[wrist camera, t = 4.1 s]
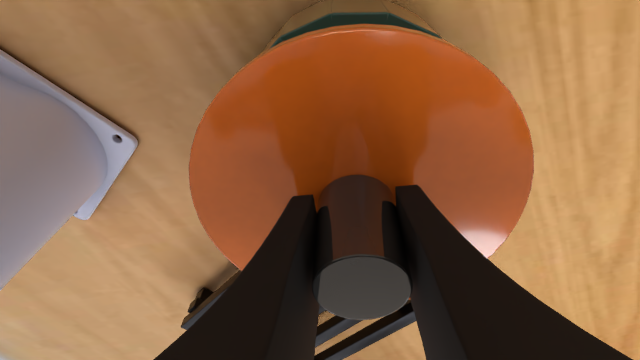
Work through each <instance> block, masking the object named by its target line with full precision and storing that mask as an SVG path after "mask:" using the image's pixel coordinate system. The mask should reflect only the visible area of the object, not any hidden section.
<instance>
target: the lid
mask: <svg viewBox="0 0 640 360" xmlns="http://www.w3.org/2000/svg"><path fill="white" fill-rule="evenodd" d="M533 172H534V156H533V146H532V141H531V135H530V130H529V128H528V125H527V123H526V120H525V118H524V115H523V112H522V110H521V108H520V107H519V105H518V104H517V102H516V100H515V99H514V97H513V96H512V94H511V92H510V91H509V90H508V89H507V88H506V86H505V85H504V84H503V83H502V82H501V81H500V80H499V79H498V78H497V76H496V75H495V74H494V73H493V72H492V71H490V70H489V69H488V68H487V67H485V66H484V65H483V64H482V63H480V62H479V61H478V60H477V59H475V58H474V57H473V56H472V55H470V54H469V53H467V52H466V51H464V50H462V49H460V48H458V47H457V46H455V45H453V44H451V43H449V42H448V41H446V40H443V39H440V38H437V37H435V36H432V35H429V34H427V33H424V32H421V31H417V30H412V29H407V28H402V27H398V26H393V25H376V24H355V25H343V26H334V27H329V28H325V29H320V30H316V31H311V32H307V33H305V34H302V35H299V36H297V37H294V38H291V39H289V40H286V41H283V42H281V43H279V44H278V45H276V46H274V47H272V48H270V49H268V50H267V51H265V52H263V53H261V54H259V55H258V56H257V57H255V58H254V59H253V60H251V61H250V62H249V63H248V64H246V65H245V66H244V67H242V68H241V69H240V70H239V71H238V72H237V73H236V74H235V75H234V76H233V77H232V78H231V79H230V80H229V81H228V82H227V83H226V84H225V85H224V86H223V87H222V89H221V90H220V91H219V92H218V94H217V95H216V97H215V98H214V100H213V101H212V102H211V104H210V105H209V107H208V108H207V109H206V111H205V113H204V115H203V117H202V119H201V122H200V124H199V126H198V128H197V130H196V134H195V137H194V140H193V144H192V147H191V154H190V162H189V181H190V190H191V194H192V199H193V204H194V207H195V209H196V212H197V215H198V217H199V220H200V222H201V224H202V225H203V227H204V229H205V231H206V233H207V234H208V236H209V237H210V239H211V240H212V241H213V243H214V244H215V245H216V247H217V248H218V249H219V250H220V251H221V252H222V253H223V254H224V256H225V257H226V258H227V259H228V260H229V261H231V262H232V263H233V264H234V265H235V266H236V267H238V268H239V269H240V270H241V271H242V270H243V269H244V268H245V266H246V265H247V264H248V262H249V261H250V260H251V258H252V257H253V256H254V254H255V253H256V252H257V250H258V249H259V248H260V246H261V245H262V243H263V242H264V240H265V239H266V237H267V236H268V234H269V233H270V231H271V230H272V228H273V227H274V225H275V224H276V222H277V221H278V219H279V217H280V216H281V214H282V212H283V211H284V209H285V207H286V206H287V204H288V202H289V200H290V199H291V198H292V197H293V196H300V195H311V194H313V197H314V202H315V207H316V212H317V219H316V232H315V246H314V260H313V273H312V293H313V296H314V298H315V300H316V301H317V303H318V304H319V305H320V306H321V307H322V308H324V309H325V310H326V311H328V312H330V313H332V314H334V315H337V316H340V317H343V318H348V319H356V320H367V319H375V318H380V317H384V316H386V315H389V314H391V313H393V312H395V311H397V310H399V309H400V308H401V307H403V306H404V305H405V304H406V302H407V301H408V300H410V296H411V294H412V290H413V281H412V276H411V272H410V267H409V263H408V258H407V254H406V249H405V245H404V240H403V236H402V232H401V228H400V223H399V219H398V214H397V210H396V193H395V187H396V186H406V185H418V186H419V187H421V189H422V190H423V191H424V193H425V194H426V195H427V196H428V198H429V199H430V200H431V201H432V203H433V204H434V205H435V206H436V207H437V208H438V210H439V211H440V212H441V213H442V214H443V215H444V216H445V217H446V219H447V220H448V221H449V222H450V223H451V224H452V225H453V226H454V227H455V228H456V229H457V230H458V231H459V232H460V233H461V234H462V235H463V236H464V237H465V238H466V239H467V240H468V241H469V242H470V243H471V244H472V245H473V246H474V247H475V248H476V249H477V250H478V251H479V252H481V253H482V254H483V255H484V256H485V257H486V258H487V259H488V258H489V257H490V256H491V255H492V254H493V253H494V252H495V251H496V250H497V249H498V248H499V247H500V246H501V244H502V243H503V242H504V241H505V240H506V239H507V237H508V236H509V234H510V233H511V232H512V230H513V229H514V227H515V226H516V224H517V222H518V220H519V218H520V216H521V214H522V212H523V210H524V208H525V206H526V203H527V200H528V197H529V194H530V190H531V185H532V179H533Z"/></svg>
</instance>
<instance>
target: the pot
mask: <svg viewBox="0 0 640 360" xmlns="http://www.w3.org/2000/svg"><path fill="white" fill-rule="evenodd" d="M355 24H376V25H393V26H398V27H402V28H407V29H412V30H417V31H421V32H424V33H427V34H429V35H432V36H435V37H437V38H440V39H442V37H441V36H440V35H439V34H438V33H436V32H435V31H434V30H433V29H432V28H431V27H430V26H429V25H428V24H427V23H426V22H425V21H424V20H423V19H422V18H421V17H420V16H418V15H417V14H415V13H413V12H411V11H409V10H407V9H405V8H403V7H401V6H400V5H398V4H396V3H393V2H390V1H388V0H324V1H321V2H319V3H316V4H313V5H311V6H310V7H308V8H306V9H304V10H303V11H301V12H299V13H297V14H295V15H293V16H292V17H291V18H290V19H289V20H288V21H287V22H286V23H285V25H284V26H283V27H282V28H281V29H280V30H279V31H278V33H277V34H276V35H275V36H274V38H273V39H272V40H271V41H270V42H269V44H268V45H267V46H266V47H265V49H264V50H263V51H262V53H263V52H265V51H267V50H268V49H270V48H272V47H274V46H276V45H278V44H279V43H281V42H283V41H286V40H289V39H291V38H294V37H297V36H299V35H302V34H305V33H307V32H311V31H316V30H320V29H325V28H329V27H334V26H343V25H355Z"/></svg>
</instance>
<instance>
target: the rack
mask: <svg viewBox="0 0 640 360" xmlns="http://www.w3.org/2000/svg"><path fill="white" fill-rule="evenodd" d="M241 272H242V271H241V270H240V271H238V272H237V273H236V274H235V275H234V276H233V277H231V278H230V279H229V280H228V281H227V282H226V283H224V284H223V285H222V286H221V287H220V288H219V289H217V290H216V291H215V292H212V291H210V290H208V289H206V288H203V289H202V290H201V291H200V292H198V294H197V296H196V299H195V300H194V301H193V302H192V303H191V304H190V307H189V309H188V312H189V314H188V315H187V316H186V317H185V318H184V320H183V322H182V325H181V328H184V329H186V330H188V329H189V328H190V327H191V326H192V325H193V324H194V323H195V322H196V321H197V320H198V319H199V318H200V317H201V316H202V315H203V314H204V313H205V312H206V311H207V310H208V309H209V308H210V307H211V306H212V305H213V304H214V303H215V302H216V301H217V299H218V298H219V297H220V296H221V295H222V294H223V293H224V292H225V291H226V289H227V288H228V287H229V286H230V285H231V284H232V283H233V281H234V280H235V279H236V278H237V277H238V275H239V274H240V273H241ZM324 311H325V309H324V308H322V307H321V306H320V307H319V314H321V313H322V312H324ZM360 321H362V320H356V319H348V318H343V317H340V316H337V315H336V316H334V317H332V318H331V319H329V320H327V321H326V322H324V323H323V324H321V325H319V326H318V327H317V333H316V342H315V347H317V346H319V345H321V344H322V343H324V342H326V341H327V340H329V339H331V338H333V337H334V336H336V335H338V334H340V333H341V332H343V331H345V330H347V329H348V328H350V327H352V326H353V325H355V324H357V323H359V322H360ZM415 321H416V317H415V314H414V310H413V307H412V303H411V300H408V301H407V302H406V304H405V305H404V306H403V307H401V308H400V309H399V310H397V311H395V312H393V313H391V314H389V315H387V316H385V317H383V318H381V319H380V320H378V321H376V322H374V323H372V324H371V325H369V326H367V327H365V328H363V329H362V330H360V331H358V332H356V333H355V334H353V335H351V336H349V337H347V338H346V339H344V340H342V341H340V342H339V343H337V344H335V345H333V346H331V347H330V348H328V349H326V350H324V351H323V352H321V353H319V354H317V355H315V356H314V360H342V359H344V358H346V357H348V356H350V355H352V354H354V353H356V352H358V351H360V350H361V349H363V348H365V347H367V346H369V345H371V344H373V343H375V342H377V341H379V340H380V339H382V338H384V337H386V336H388V335H390V334H392V333H394V332H396V331H398V330H400V329H401V328H403V327H405V326H407V325H409V324H411V323H413V322H415Z"/></svg>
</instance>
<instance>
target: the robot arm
mask: <svg viewBox="0 0 640 360" xmlns="http://www.w3.org/2000/svg"><path fill="white" fill-rule="evenodd" d="M116 135H119V136H120V137H121V138H122V140H121V139H119V138H118V137H117V136H116ZM137 146H138V141H137V139H136V138H135V137H134V136H133V135H131V134H130V133H128V132H127V131H125V130H124V129H122V128H121V127H119V126H117V125H116V124H114V123H113V122H111V121H110V120H108V119H107V118H105V117H104V116H102V115H101V114H99V113H97V112H96V111H94V110H93V109H91V108H90V107H88V106H87V105H85V104H84V103H82V102H81V101H79V100H77V99H76V98H74V97H73V96H71V95H70V94H68V93H67V92H65V91H64V90H62V89H61V88H59V87H57V86H56V85H54V84H53V83H51V82H50V81H48V80H47V79H45V78H44V77H42V76H41V75H39V74H37V73H36V72H34V71H33V70H31V69H30V68H28V67H27V66H25V65H24V64H22V63H20V62H19V61H17V60H16V59H14V58H13V57H11V56H10V55H8V54H7V53H5V52H4V51H2V50H0V290H1V289H2V288H3V287H4V286H5V285H6V284H7V283H8V282H9V281H10V280H11V279H12V278H13V277H14V276H15V275H16V274H17V273H18V272H19V271H20V270H21V268H22V267H23V266H24V265H25V264H26V263H27V262H28V261H29V260H30V259H31V258H32V257H33V256H34V255H35V254H36V253H37V252H38V251H39V250H40V249H41V248H42V247H43V246H44V245H45V244H46V243H47V241H48V240H49V239H50V238H51V237H52V236H53V235H54V234H55V233H56V232H57V231H58V230H59V229H60V228H61V227H62V226H63V225H64V224H65V223H66V222H67V221H68V220H69V219H70V218H71V217H72V216H75V217H77V218H79V219H81V220H87V219H89V218H90V217H91V215H92V214H93V213H94V211H95V210H96V208H97V206H98V205H99V203H100V202H101V200H102V199H103V197H104V196H105V194H106V193H107V191H108V190H109V188H110V187H111V185H112V184H113V182H114V181H115V179H116V178H117V176H118V175H119V173H120V172H121V170H122V169H123V167H124V166H125V164H126V163H127V161H128V160H129V158H130V157H131V155H132V154H133V152H134V151H135V149H136V148H137ZM395 193H396V210H397V214H398V219H399V223H400V228H401V232H402V236H403V240H404V245H405V249H406V254H407V258H408V263H409V267H410V272H411V276H412V281H413V290H412V294H411V296H410V300H411V303H412V307H413V310H414V314H415V317H416V321H417V324H418V328H419V331H420V335H421V339H422V342H423V347H424V351H425V355H426V360H633V359H631V358H629V357H627V356H626V355H624V354H622V353H621V352H619V351H617V350H616V349H614V348H612V347H611V346H609V345H607V344H606V343H604V342H602V341H601V340H599V339H598V338H596V337H594V336H593V335H591V334H589V333H588V332H586V331H585V330H583V329H581V328H580V327H578V326H577V325H575V324H574V323H572V322H571V321H569V320H568V319H567V318H565V317H564V316H562V315H561V314H559V313H558V312H556V311H555V310H553V309H552V308H550V307H549V306H547V305H546V304H544V303H543V302H541V301H540V300H538V299H537V298H536V297H534V296H533V295H532V294H530V293H529V292H528V291H526V290H525V289H524V288H522V287H521V286H520V285H518V284H517V283H516V282H515V281H513V280H512V279H511V278H510V277H508V276H507V275H506V274H505V273H503V272H502V271H501V270H500V269H499V268H497V267H496V266H495V265H494V264H493V263H492V262H491V261H489V260H488V259H487V258H486V257H485V256H484V255H483V254H482V253H481V252H479V251H478V250H477V249H476V248H475V247H474V246H473V245H472V244H471V243H470V242H469V241H468V240H467V239H466V238H465V237H464V236H463V235H462V234H461V233H460V232H459V231H458V230H457V229H456V228H455V227H454V226H453V225H452V224H451V223H450V222H449V221H448V220H447V219H446V217H445V216H444V215H443V214H442V213H441V212H440V211H439V210H438V208H437V207H436V206H435V205H434V204H433V203H432V201H431V200H430V199H429V198H428V196H427V195H426V194H425V193H424V191H423V190H422V189H421V187H419V186H418V185H406V186H396V187H395ZM316 219H317V212H316V207H315V202H314V197H313V194H311V195H300V196H293V197H292V198H291V199H290V200H289V202H288V204H287V206H286V207H285V209H284V211H283V212H282V214H281V216H280V217H279V219H278V221H277V222H276V224H275V225H274V227H273V228H272V230H271V231H270V233H269V234H268V236H267V237H266V239H265V240H264V242H263V243H262V245H261V246H260V248H259V249H258V250H257V252H256V253H255V254H254V256H253V257H252V258H251V260H250V261H249V262H248V264H247V265H246V266H245V268H244V269H243V270H242V272H241V273H240V274H239V275H238V277H237V278H236V279H235V280H234V281H233V283H232V284H231V285H230V286H229V287H228V288H227V289H226V291H225V292H224V293H223V294H222V295H221V296H220V297H219V298H218V299H217V301H216V302H215V303H214V304H213V305H212V306H211V307H210V308H209V309H208V310H207V311H206V312H205V313H204V314H203V315H202V316H201V317H200V318H199V319H198V320H197V321H196V322H195V323H194V324H193V325H192V326H191V327H190V328H189V329H188V330H187V331H186V332H185V333H184V334H182V335H181V336H180V337H179V338H178V339H177V340H176V341H175V342H173V343H172V344H171V345H170V346H169V347H168V348H167V349H165V350H164V351H163V352H162V353H161V354H160V355H158V356H157V357H156V358H155V359H154V360H314V355H315V342H316V333H317V324H318V316H319V307H320V305H319V304H318V303H317V301H316V300H315V298H314V296H313V293H312V273H313V260H314V246H315V232H316Z"/></svg>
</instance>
